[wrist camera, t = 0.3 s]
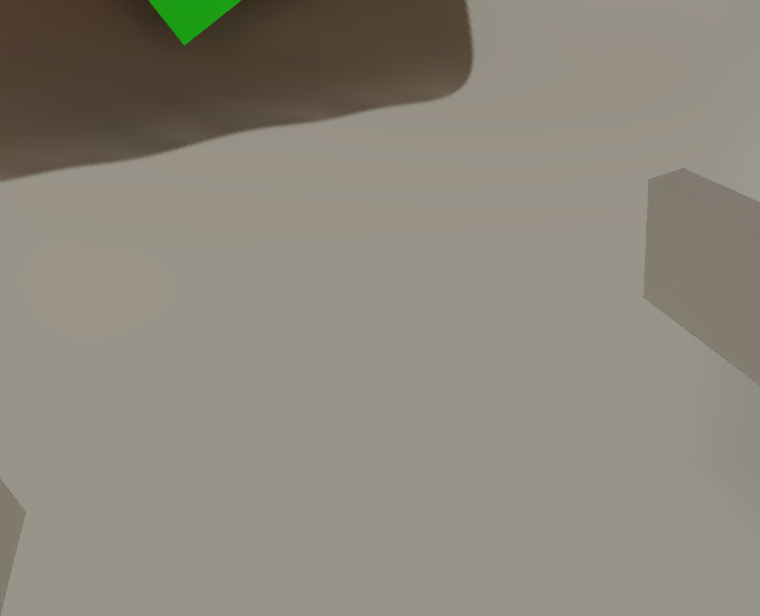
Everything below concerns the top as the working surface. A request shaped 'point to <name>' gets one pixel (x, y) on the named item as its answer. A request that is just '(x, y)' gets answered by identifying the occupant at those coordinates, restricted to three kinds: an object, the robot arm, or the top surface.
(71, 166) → the top surface
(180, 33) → the puzzle toy
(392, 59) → the top surface
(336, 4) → the top surface
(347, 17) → the top surface
